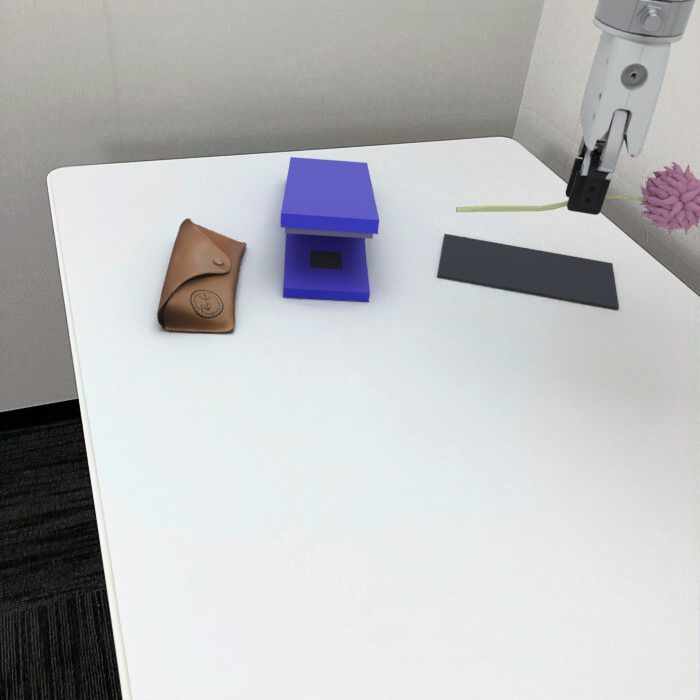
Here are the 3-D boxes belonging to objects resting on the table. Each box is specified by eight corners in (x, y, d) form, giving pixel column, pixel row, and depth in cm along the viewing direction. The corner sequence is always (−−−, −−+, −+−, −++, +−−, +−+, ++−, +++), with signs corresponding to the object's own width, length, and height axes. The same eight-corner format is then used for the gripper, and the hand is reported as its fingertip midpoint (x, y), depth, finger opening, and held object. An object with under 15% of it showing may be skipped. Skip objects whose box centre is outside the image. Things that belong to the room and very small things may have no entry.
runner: (611, 265, 101) (612, 263, 100) (618, 310, 93) (619, 307, 93) (444, 236, 102) (444, 233, 102) (437, 277, 95) (437, 274, 94)
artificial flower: (462, 261, 75) (720, 241, 75) (462, 192, 71) (733, 171, 71) (452, 235, 81) (692, 217, 80) (452, 170, 77) (703, 150, 77)
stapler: (277, 296, 88) (280, 222, 82) (283, 180, 110) (286, 114, 104) (377, 302, 89) (387, 228, 83) (364, 185, 111) (371, 120, 105)
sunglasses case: (239, 331, 82) (205, 285, 78) (182, 354, 84) (146, 311, 80) (248, 240, 96) (219, 197, 92) (199, 262, 98) (169, 221, 94)
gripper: (705, 48, 59) (628, 252, 71) (672, -8, 71) (611, 174, 83) (606, 34, 59) (546, 239, 71) (590, -19, 71) (541, 164, 83)
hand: (581, 203), depth 77 cm, fingers closed on artificial flower
